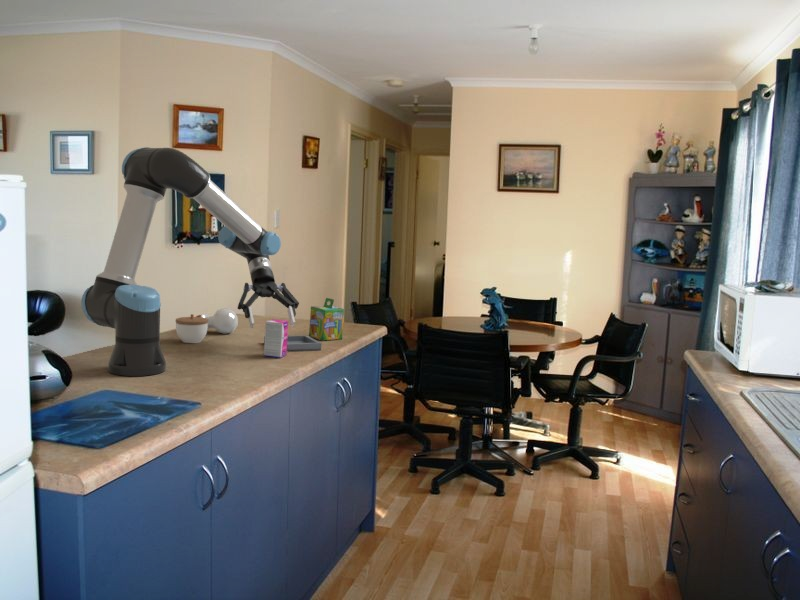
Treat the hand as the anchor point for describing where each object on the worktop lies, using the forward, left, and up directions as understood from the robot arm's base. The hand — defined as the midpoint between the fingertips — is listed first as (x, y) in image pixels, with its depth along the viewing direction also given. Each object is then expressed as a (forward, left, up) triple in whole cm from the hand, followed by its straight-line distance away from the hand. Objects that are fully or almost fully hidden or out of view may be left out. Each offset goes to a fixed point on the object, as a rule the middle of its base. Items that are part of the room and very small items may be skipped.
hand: (273, 325), depth 236 cm
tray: (+10, +10, -9) cm, 17 cm away
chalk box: (+27, +23, -10) cm, 37 cm away
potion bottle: (-9, +40, -10) cm, 42 cm away
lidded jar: (-21, +25, -10) cm, 34 cm away
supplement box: (0, -4, -10) cm, 10 cm away
